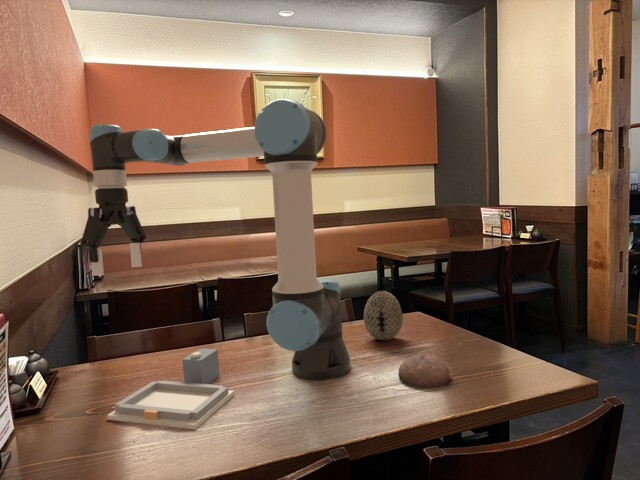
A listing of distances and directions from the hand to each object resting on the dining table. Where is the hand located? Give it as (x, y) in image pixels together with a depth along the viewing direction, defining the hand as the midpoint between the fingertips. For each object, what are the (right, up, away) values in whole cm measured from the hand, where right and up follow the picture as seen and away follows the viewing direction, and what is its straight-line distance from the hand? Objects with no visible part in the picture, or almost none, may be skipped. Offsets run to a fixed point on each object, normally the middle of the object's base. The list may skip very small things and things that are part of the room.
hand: (118, 271), depth 117 cm
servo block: (+23, -27, -4) cm, 36 cm away
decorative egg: (+71, -23, +21) cm, 78 cm away
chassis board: (+20, -28, -18) cm, 39 cm away
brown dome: (+77, -25, -9) cm, 81 cm away
